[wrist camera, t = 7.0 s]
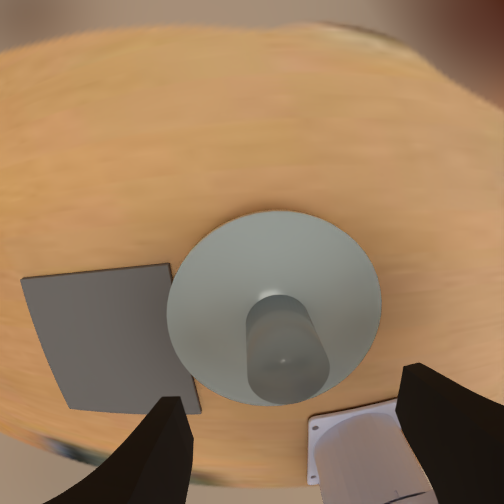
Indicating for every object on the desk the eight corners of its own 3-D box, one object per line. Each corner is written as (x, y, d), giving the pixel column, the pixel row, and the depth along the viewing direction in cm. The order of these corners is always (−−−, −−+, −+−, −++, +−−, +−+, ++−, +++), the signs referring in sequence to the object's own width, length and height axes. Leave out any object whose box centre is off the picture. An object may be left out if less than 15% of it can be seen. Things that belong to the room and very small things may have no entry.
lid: (364, 385, 17) (393, 440, 12) (186, 400, 17) (174, 462, 12) (380, 205, 14) (434, 223, 10) (156, 217, 14) (119, 241, 10)
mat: (201, 410, 21) (201, 414, 20) (71, 405, 21) (69, 408, 20) (169, 263, 18) (167, 265, 17) (23, 277, 18) (20, 279, 17)
